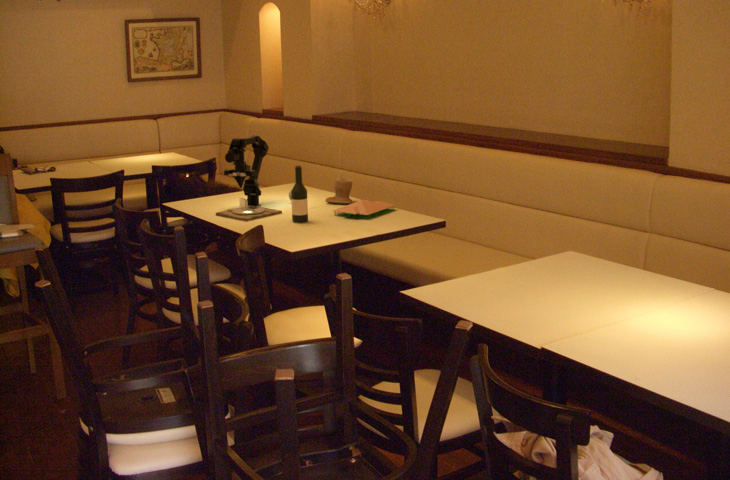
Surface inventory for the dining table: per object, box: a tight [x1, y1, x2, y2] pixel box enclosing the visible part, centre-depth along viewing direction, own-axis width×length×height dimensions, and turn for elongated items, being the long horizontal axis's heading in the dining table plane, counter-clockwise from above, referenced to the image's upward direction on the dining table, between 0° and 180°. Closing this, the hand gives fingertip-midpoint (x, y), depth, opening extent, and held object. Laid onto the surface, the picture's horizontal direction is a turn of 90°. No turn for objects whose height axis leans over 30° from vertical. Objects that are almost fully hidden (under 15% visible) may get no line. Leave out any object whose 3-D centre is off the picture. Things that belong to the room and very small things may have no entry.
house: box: [332, 199, 396, 220], centre depth 412 cm, size 23×33×8 cm
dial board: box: [215, 205, 283, 222], centre depth 414 cm, size 26×26×2 cm
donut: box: [288, 187, 293, 202], centre depth 444 cm, size 10×4×10 cm, turn 121°
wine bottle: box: [291, 164, 309, 224], centre depth 391 cm, size 8×8×30 cm
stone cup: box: [324, 177, 354, 205], centre depth 440 cm, size 15×12×15 cm
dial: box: [232, 197, 266, 215], centre depth 413 cm, size 22×18×6 cm
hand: (240, 187), depth 424 cm, fingers closed
